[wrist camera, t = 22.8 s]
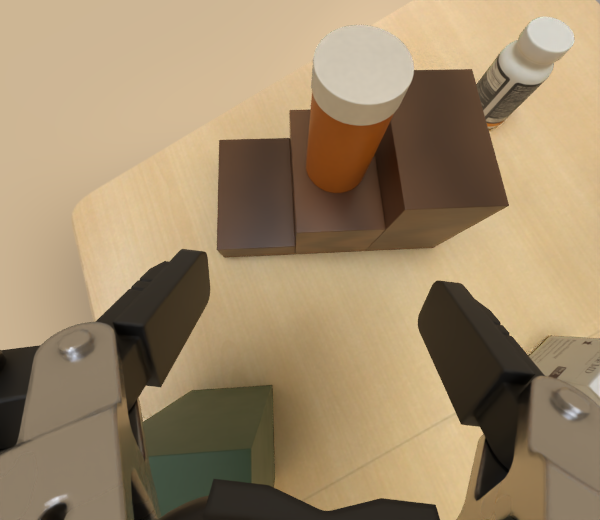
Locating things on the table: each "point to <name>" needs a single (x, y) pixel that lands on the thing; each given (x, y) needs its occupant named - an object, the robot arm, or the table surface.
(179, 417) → the stand
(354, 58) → the amber bottle
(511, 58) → the pill bottle
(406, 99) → the riser
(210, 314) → the table surface
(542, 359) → the product carton
